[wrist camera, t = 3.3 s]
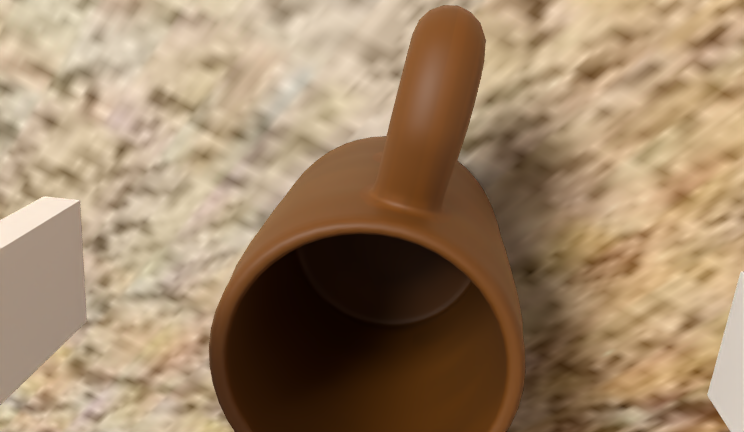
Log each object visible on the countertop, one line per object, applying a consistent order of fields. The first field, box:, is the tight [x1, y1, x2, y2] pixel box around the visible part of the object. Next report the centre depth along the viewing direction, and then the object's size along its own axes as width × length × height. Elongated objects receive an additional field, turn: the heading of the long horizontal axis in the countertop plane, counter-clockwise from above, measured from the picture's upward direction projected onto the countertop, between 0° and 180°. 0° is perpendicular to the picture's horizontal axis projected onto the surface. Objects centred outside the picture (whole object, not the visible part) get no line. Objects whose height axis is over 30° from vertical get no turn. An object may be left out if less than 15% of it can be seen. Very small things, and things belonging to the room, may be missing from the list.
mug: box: [209, 5, 525, 432], centre depth 20 cm, size 12×8×9 cm, turn 166°
